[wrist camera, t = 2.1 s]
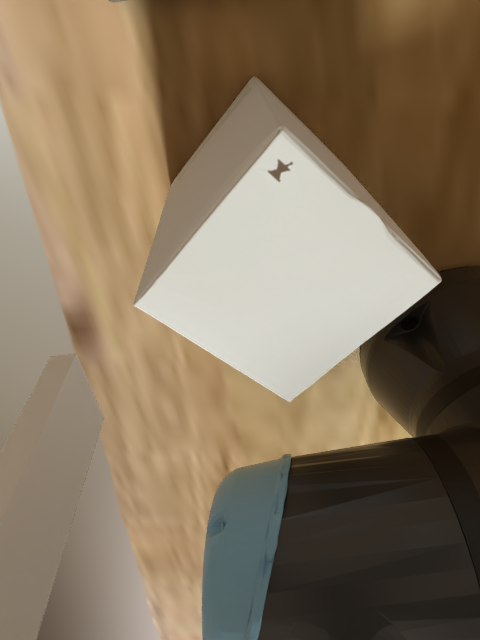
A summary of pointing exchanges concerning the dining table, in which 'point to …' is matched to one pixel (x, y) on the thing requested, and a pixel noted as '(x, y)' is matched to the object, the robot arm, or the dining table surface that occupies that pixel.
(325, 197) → the supplement box
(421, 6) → the dining table surface
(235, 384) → the dining table surface
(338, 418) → the dining table surface
